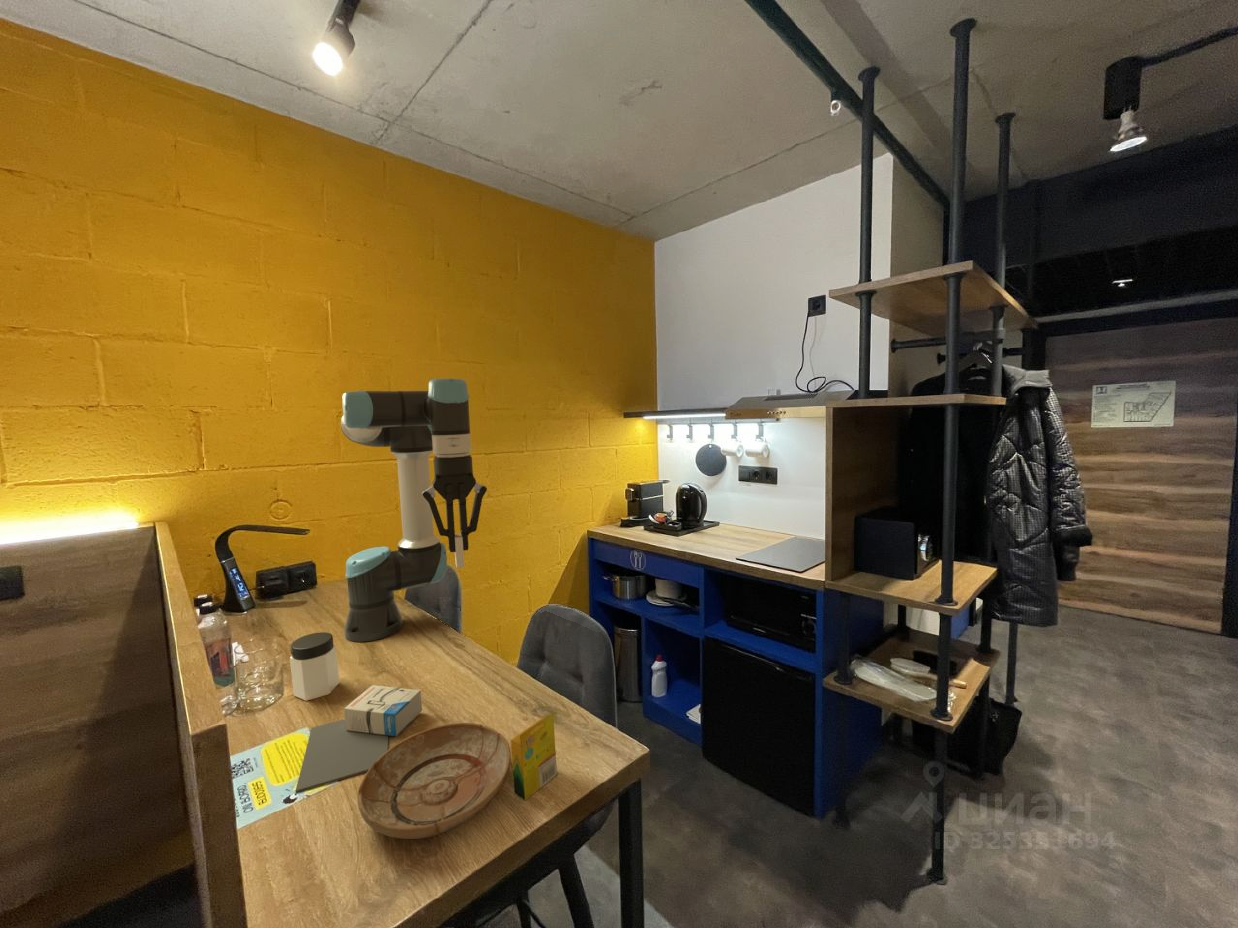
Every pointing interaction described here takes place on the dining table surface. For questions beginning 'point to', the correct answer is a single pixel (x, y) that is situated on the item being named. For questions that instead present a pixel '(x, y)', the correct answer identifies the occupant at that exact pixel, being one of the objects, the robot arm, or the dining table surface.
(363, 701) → the ink box
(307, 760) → the mat
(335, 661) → the jar
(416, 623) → the dining table surface
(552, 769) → the crayon box
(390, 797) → the ceramic bowl
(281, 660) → the dining table surface
